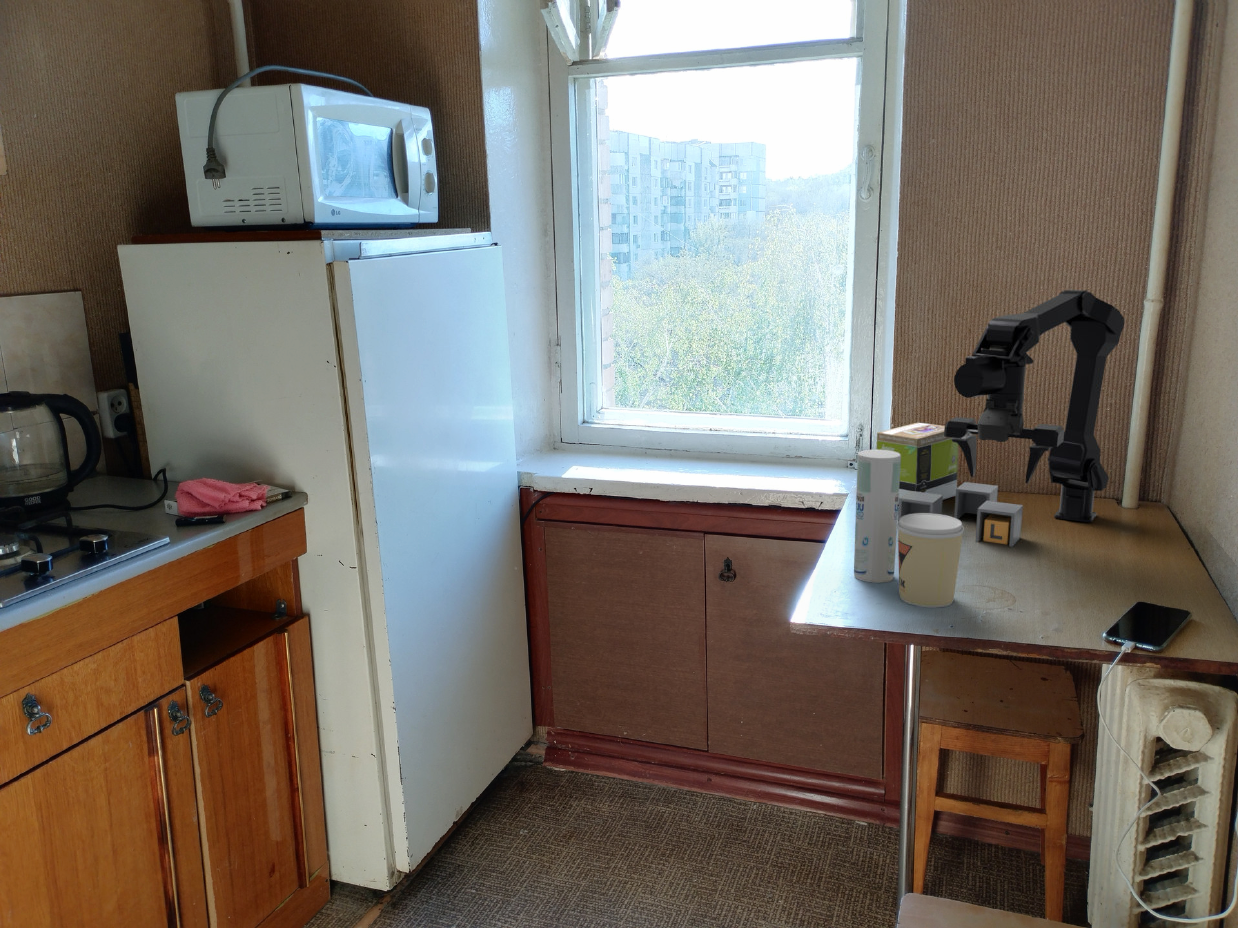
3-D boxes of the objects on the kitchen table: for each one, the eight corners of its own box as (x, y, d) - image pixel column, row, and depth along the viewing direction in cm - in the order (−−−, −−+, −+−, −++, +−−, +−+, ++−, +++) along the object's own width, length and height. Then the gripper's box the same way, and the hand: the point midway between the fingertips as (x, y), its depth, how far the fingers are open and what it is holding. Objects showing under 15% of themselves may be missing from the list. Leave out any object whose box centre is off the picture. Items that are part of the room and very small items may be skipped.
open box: (963, 511, 190) (964, 481, 188) (995, 516, 186) (998, 485, 185) (954, 519, 185) (956, 488, 183) (987, 523, 181) (990, 493, 180)
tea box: (915, 488, 208) (919, 420, 205) (957, 497, 200) (962, 427, 197) (872, 500, 199) (876, 430, 195) (915, 510, 191) (919, 437, 188)
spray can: (898, 583, 151) (904, 458, 146) (855, 582, 151) (860, 458, 147) (890, 569, 157) (896, 449, 153) (850, 569, 158) (854, 449, 153)
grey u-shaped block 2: (908, 521, 184) (909, 490, 182) (941, 526, 180) (942, 495, 179) (897, 529, 179) (898, 498, 177) (931, 534, 175) (932, 502, 174)
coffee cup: (897, 584, 150) (900, 510, 148) (960, 591, 147) (965, 515, 144) (890, 605, 142) (894, 526, 139) (957, 613, 139) (963, 532, 136)
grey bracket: (984, 532, 176) (986, 500, 175) (1020, 537, 173) (1022, 505, 171) (975, 541, 171) (977, 508, 170) (1012, 546, 168) (1014, 513, 166)
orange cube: (989, 535, 175) (990, 513, 174) (1012, 538, 172) (1014, 516, 171) (983, 541, 171) (984, 519, 170) (1006, 544, 169) (1008, 522, 168)
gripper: (936, 394, 165) (932, 482, 169) (1053, 402, 155) (1046, 497, 158) (955, 385, 174) (951, 469, 177) (1068, 393, 163) (1060, 482, 167)
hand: (999, 479), depth 170 cm, fingers open, 9 cm apart
